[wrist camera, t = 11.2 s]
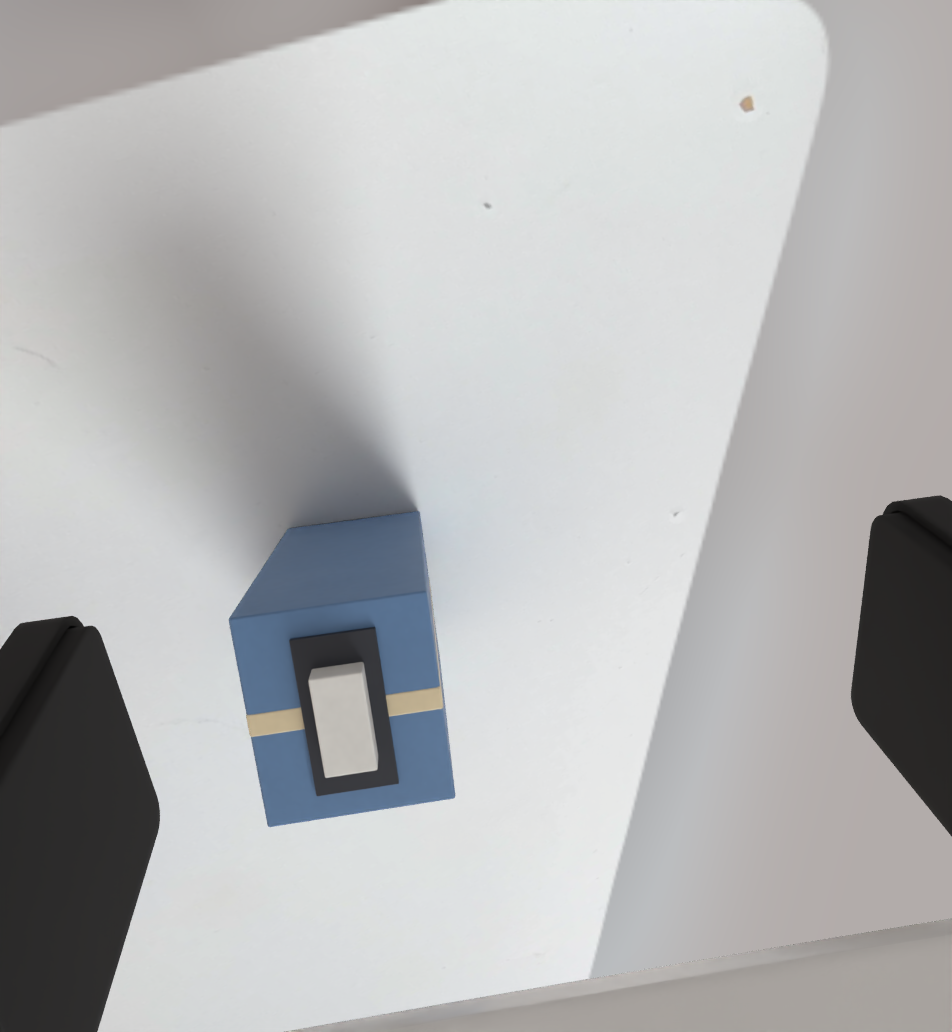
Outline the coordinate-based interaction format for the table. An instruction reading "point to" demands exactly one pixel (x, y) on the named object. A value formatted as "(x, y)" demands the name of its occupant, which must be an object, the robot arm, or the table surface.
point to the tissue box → (344, 672)
